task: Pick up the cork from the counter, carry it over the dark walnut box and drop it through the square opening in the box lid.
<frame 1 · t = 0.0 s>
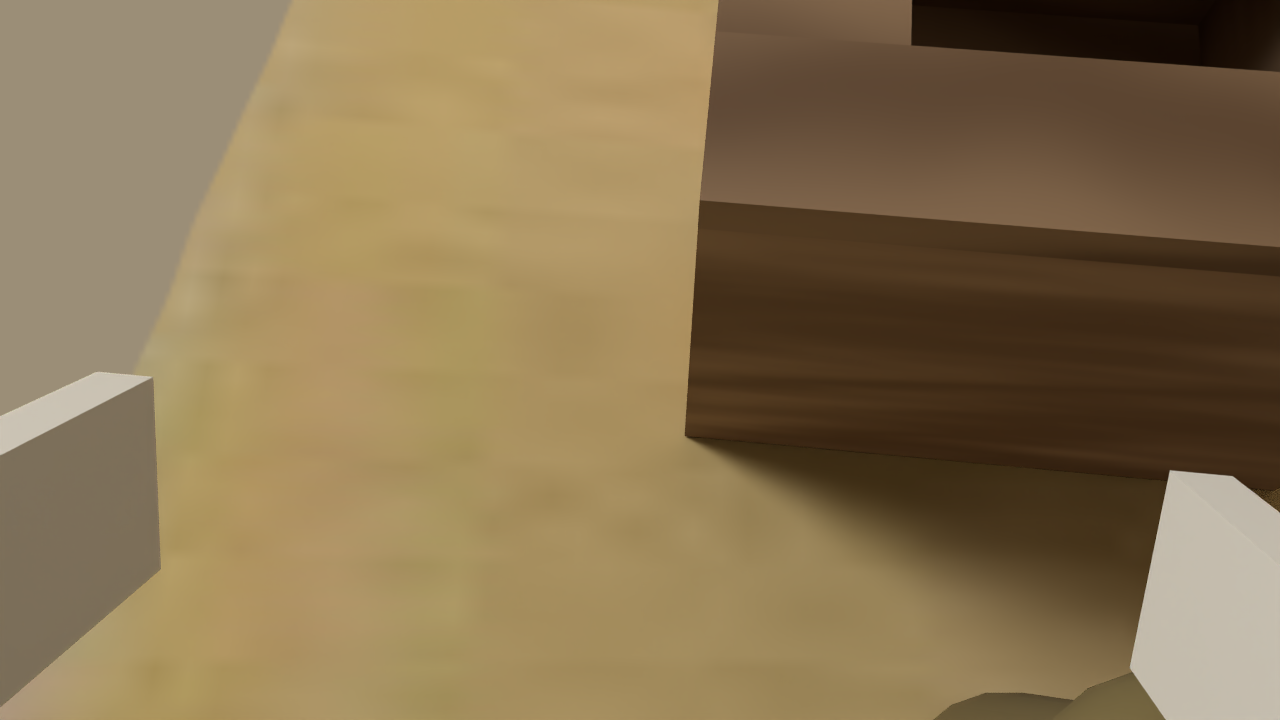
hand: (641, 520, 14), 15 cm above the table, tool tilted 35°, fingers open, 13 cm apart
walnut box: (972, 208, 33), on the table
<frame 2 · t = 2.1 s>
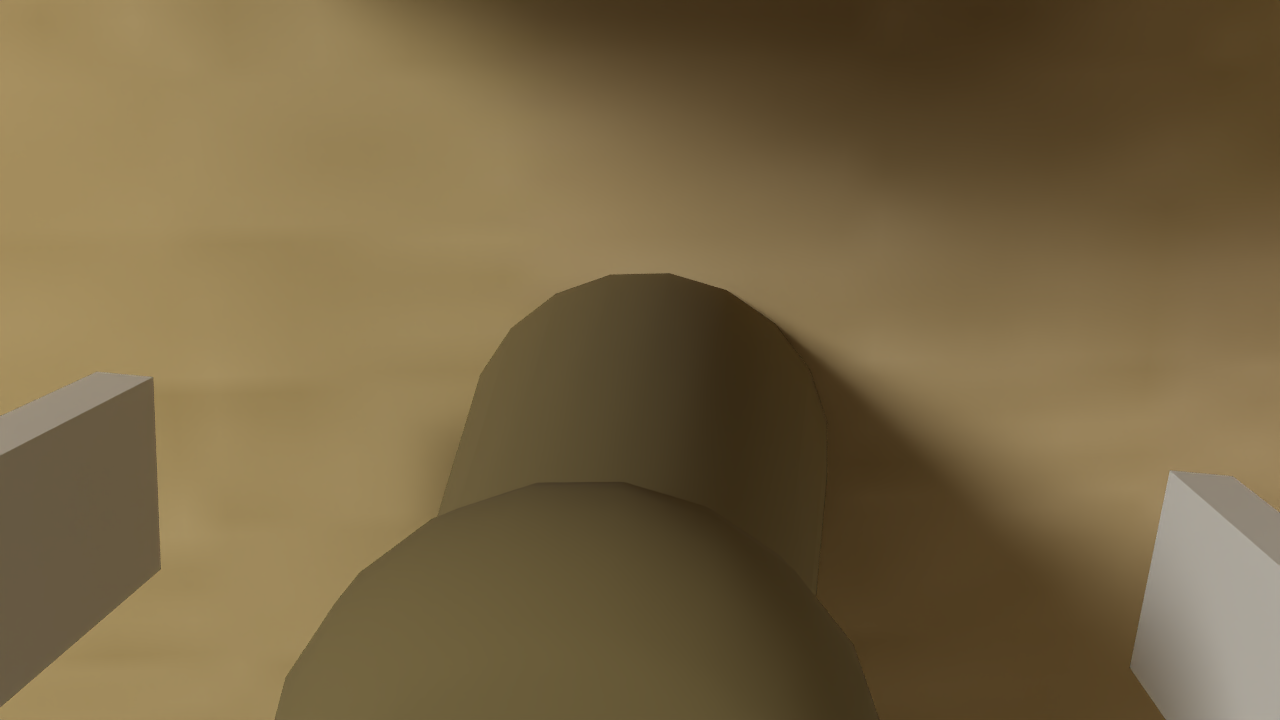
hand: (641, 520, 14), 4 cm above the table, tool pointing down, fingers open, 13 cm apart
cork: (646, 448, 18), on the table
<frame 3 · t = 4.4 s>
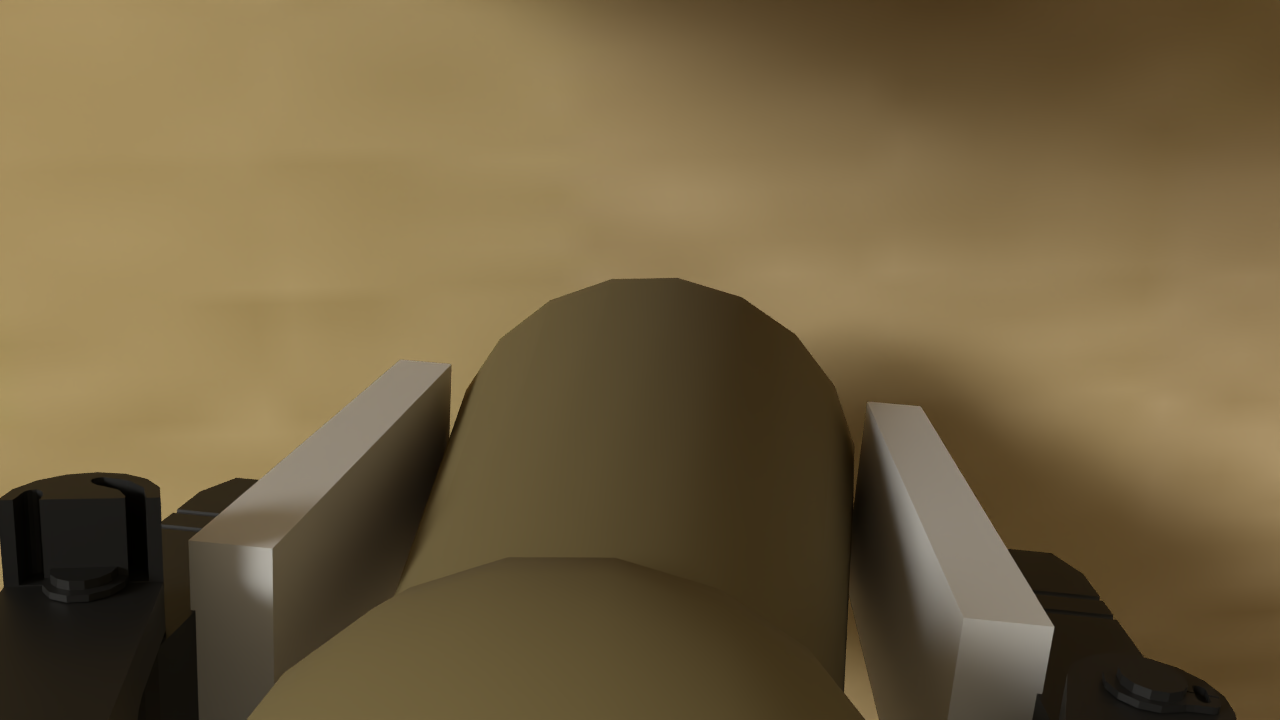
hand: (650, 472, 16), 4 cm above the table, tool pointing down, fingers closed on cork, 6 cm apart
cork: (651, 472, 17), point 4 cm above the table, touching gripper
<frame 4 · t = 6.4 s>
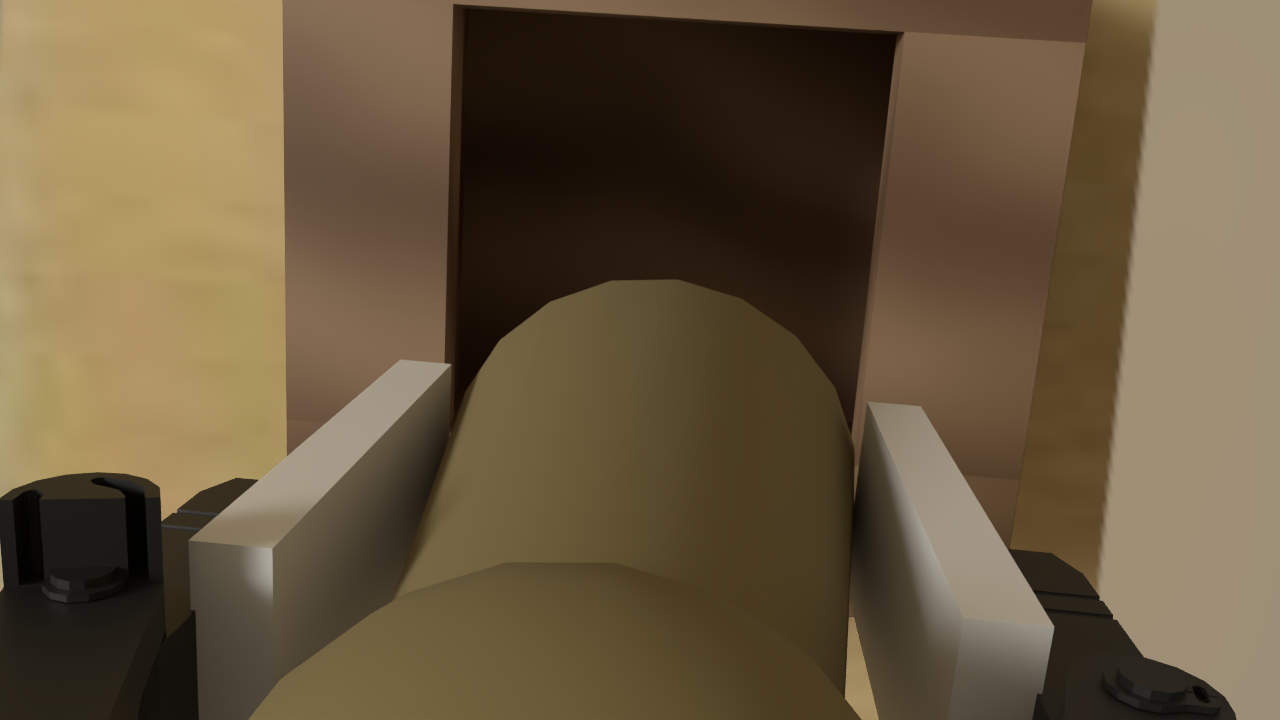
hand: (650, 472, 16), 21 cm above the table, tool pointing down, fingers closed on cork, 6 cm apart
walnut box: (681, 194, 36), on the table
cork: (651, 474, 16), point 20 cm above the table, touching gripper
when the fingers open (14 cm above the table, at t = 8.4 s): cork drops 13 cm, resting on walnut box.
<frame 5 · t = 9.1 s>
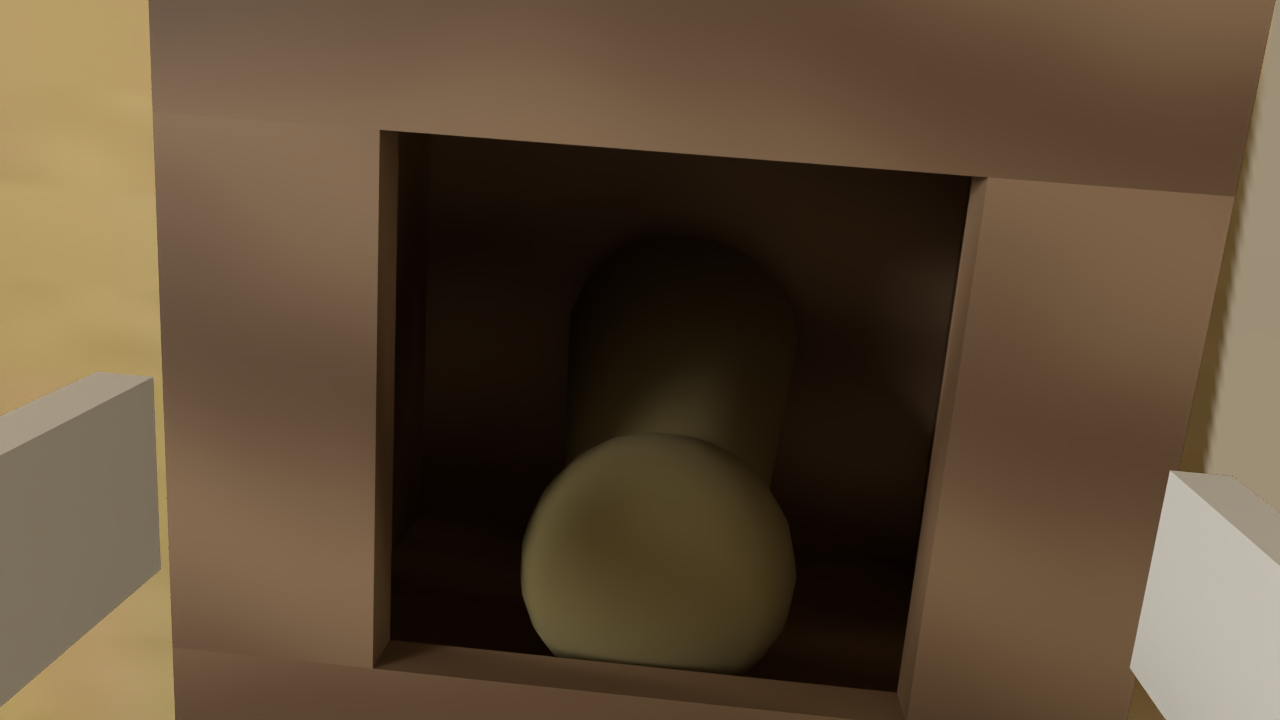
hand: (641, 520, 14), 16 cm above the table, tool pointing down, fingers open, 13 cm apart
walnut box: (685, 291, 30), on the table
cork: (682, 339, 29), point 1 cm above the table, touching walnut box
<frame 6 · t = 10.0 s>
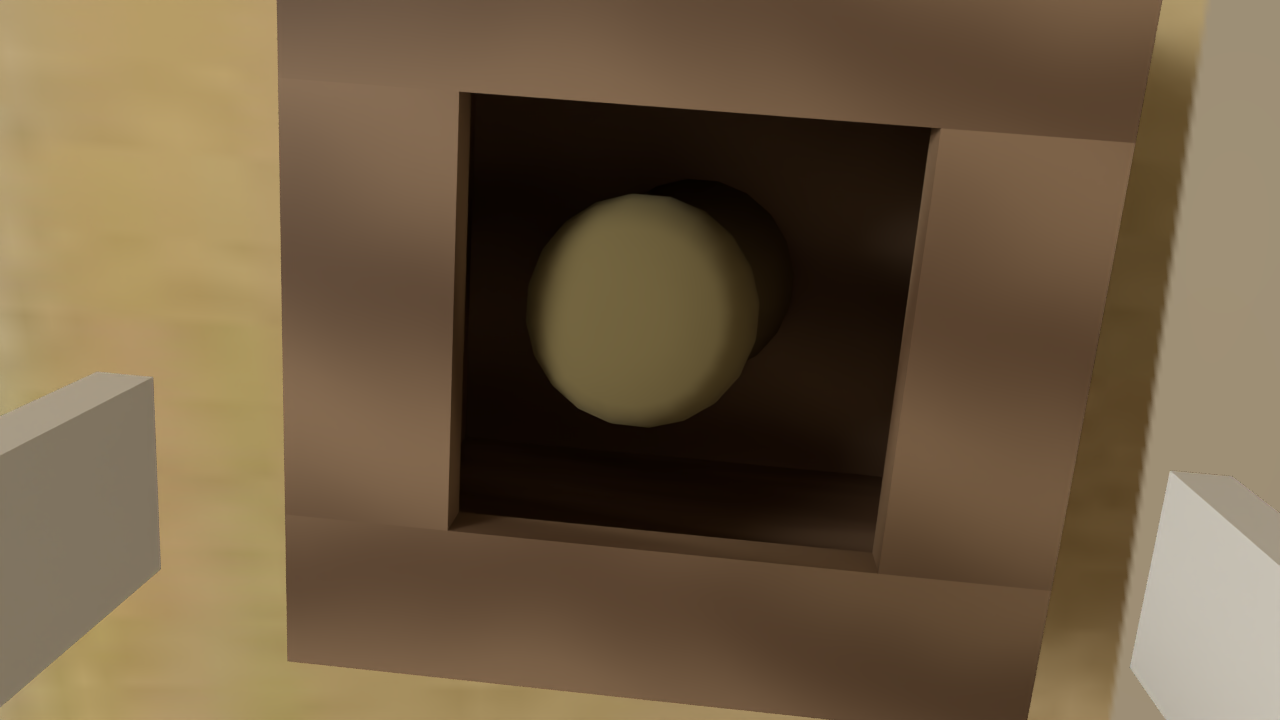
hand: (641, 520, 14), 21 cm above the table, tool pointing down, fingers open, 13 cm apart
walnut box: (697, 240, 34), on the table
cork: (694, 278, 34), point 1 cm above the table, touching walnut box
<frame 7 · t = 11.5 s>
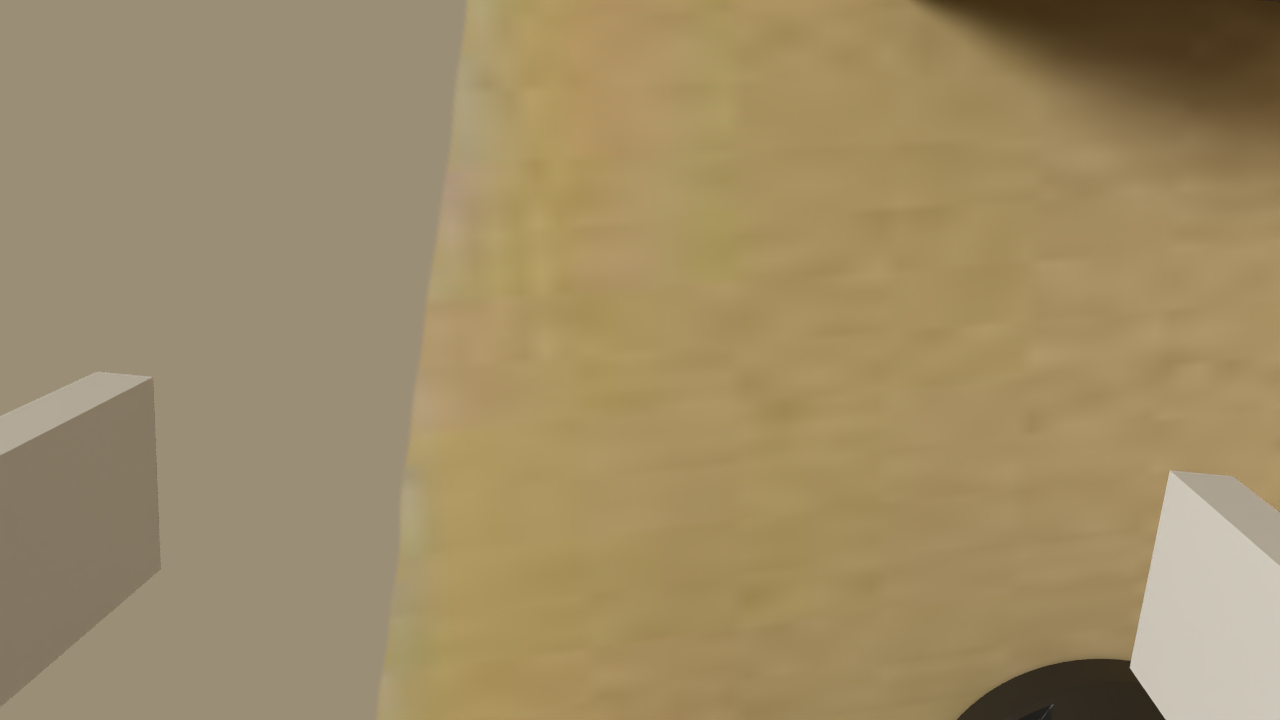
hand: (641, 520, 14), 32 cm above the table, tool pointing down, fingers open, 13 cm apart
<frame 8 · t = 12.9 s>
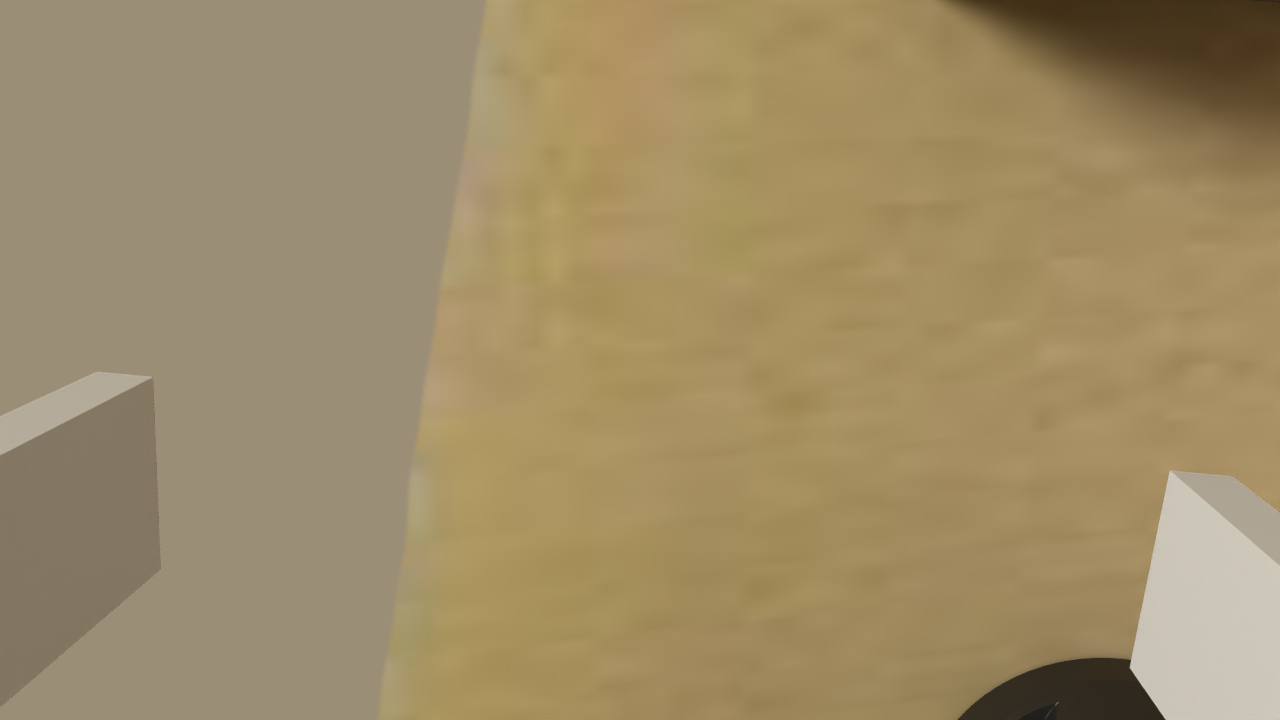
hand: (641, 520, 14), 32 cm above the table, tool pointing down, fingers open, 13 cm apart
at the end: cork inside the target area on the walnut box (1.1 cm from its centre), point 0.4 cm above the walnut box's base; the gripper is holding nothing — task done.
